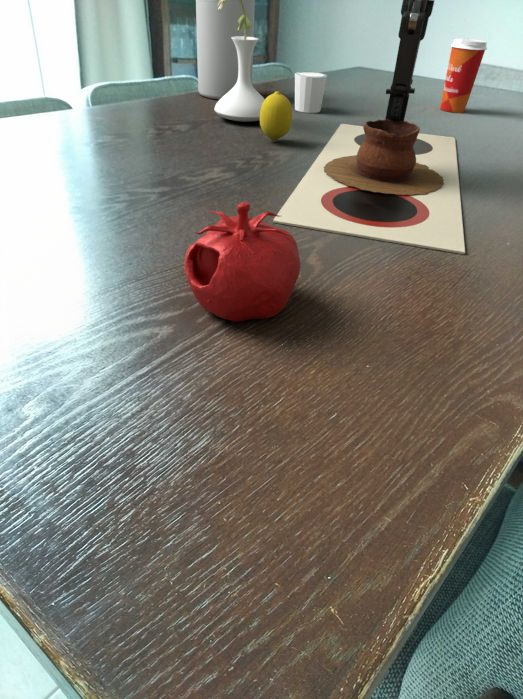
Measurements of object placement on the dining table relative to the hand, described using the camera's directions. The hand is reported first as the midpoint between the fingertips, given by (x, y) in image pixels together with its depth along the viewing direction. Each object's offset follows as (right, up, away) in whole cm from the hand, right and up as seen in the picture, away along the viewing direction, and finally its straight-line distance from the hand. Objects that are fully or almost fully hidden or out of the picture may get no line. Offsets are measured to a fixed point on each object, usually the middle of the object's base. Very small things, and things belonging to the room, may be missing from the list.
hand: (390, 141), depth 76 cm
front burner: (-5, -13, -11) cm, 18 cm away
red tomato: (-22, -28, -31) cm, 47 cm away
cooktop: (-1, -4, +1) cm, 4 cm away
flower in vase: (-24, +13, +22) cm, 35 cm away
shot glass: (-10, +20, +33) cm, 40 cm away
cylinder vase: (-28, +28, +41) cm, 57 cm away
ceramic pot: (-2, -6, -1) cm, 6 cm away
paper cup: (+25, +24, +41) cm, 53 cm away
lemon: (-18, +4, +11) cm, 21 cm away
